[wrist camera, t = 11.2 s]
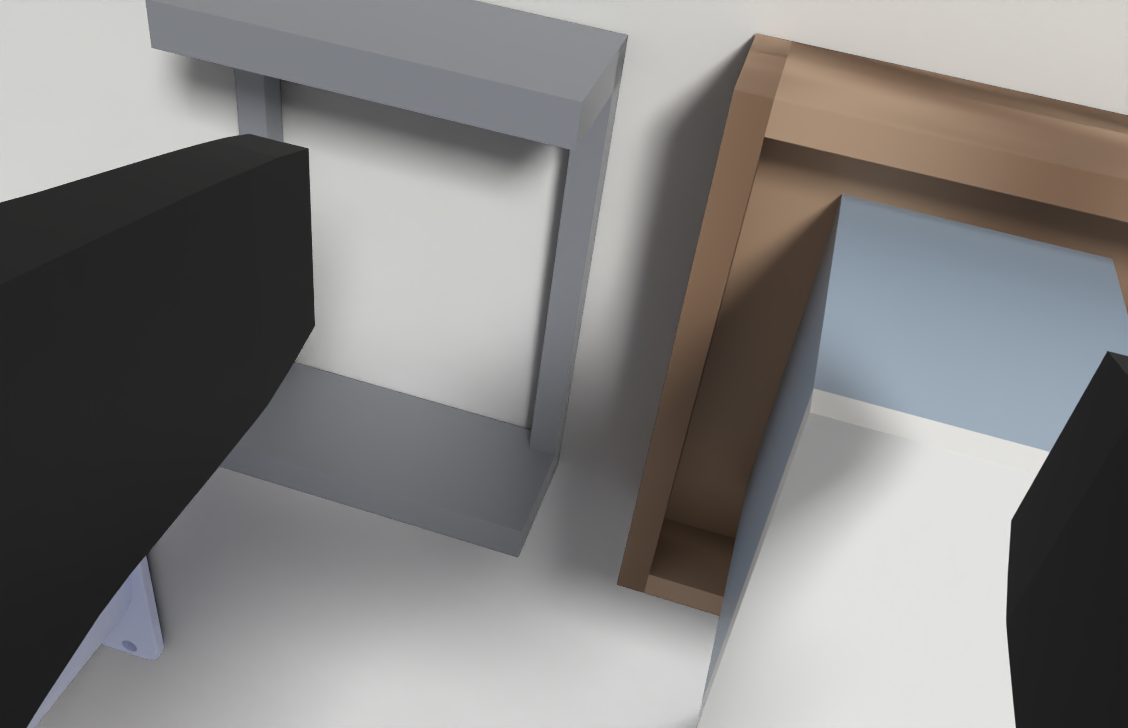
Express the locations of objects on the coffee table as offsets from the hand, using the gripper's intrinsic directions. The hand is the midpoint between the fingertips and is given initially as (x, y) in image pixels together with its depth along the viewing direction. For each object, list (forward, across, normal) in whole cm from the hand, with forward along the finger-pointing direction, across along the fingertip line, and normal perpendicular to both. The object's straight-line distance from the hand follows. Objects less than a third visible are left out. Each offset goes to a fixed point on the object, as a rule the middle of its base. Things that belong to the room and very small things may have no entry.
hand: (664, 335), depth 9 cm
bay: (+9, +6, +6) cm, 13 cm away
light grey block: (+9, -4, +6) cm, 11 cm away
